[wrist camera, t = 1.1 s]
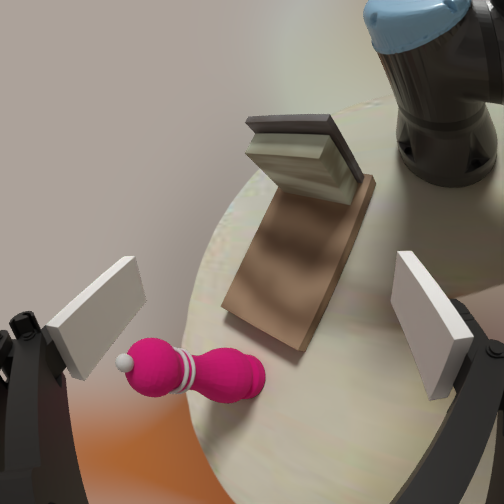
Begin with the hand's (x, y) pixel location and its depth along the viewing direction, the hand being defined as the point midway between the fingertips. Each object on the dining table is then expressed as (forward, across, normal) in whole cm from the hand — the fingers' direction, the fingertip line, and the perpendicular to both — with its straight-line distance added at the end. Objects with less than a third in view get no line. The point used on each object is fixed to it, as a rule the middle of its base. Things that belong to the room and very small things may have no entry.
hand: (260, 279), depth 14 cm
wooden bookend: (+26, +2, -9) cm, 28 cm away
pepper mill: (+16, -5, -24) cm, 29 cm away
